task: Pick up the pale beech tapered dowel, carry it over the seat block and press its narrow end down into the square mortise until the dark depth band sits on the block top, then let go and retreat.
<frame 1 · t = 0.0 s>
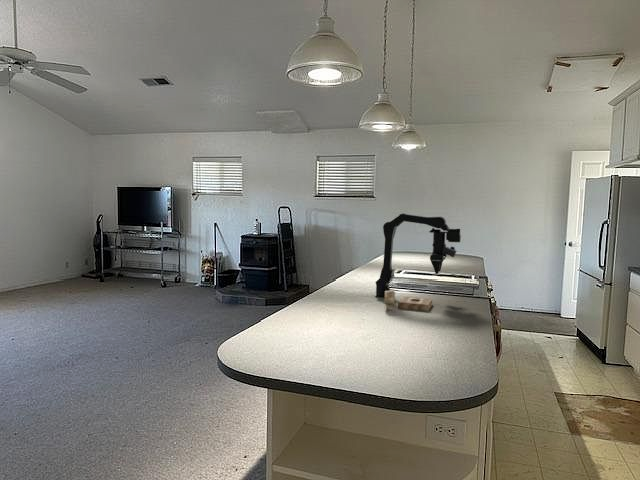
hand: (438, 272, 227), 14 cm above the counter, fingers open, 9 cm apart
peg: (389, 309, 209), on the counter
seat block: (415, 306, 216), on the counter
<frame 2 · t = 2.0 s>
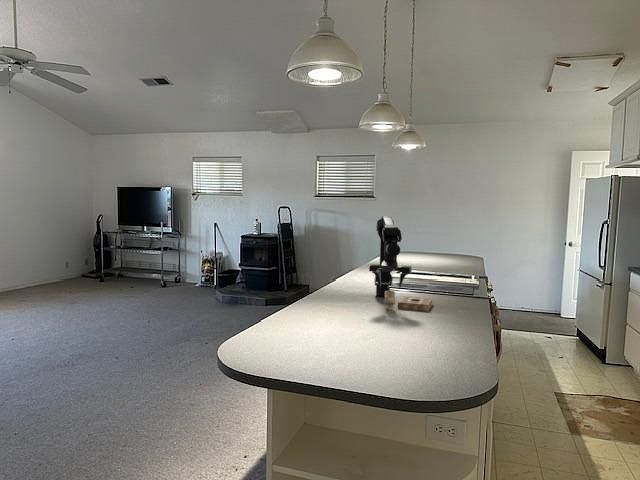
hand: (389, 287, 208), 11 cm above the counter, fingers open, 9 cm apart
nothing on the counter moved.
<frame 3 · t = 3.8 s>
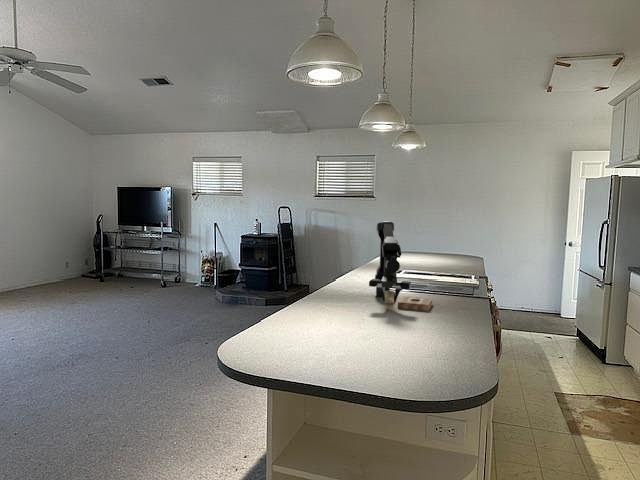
hand: (389, 302, 209), 4 cm above the counter, fingers closed on peg, 5 cm apart
peg: (389, 309, 209), on the counter, touching gripper
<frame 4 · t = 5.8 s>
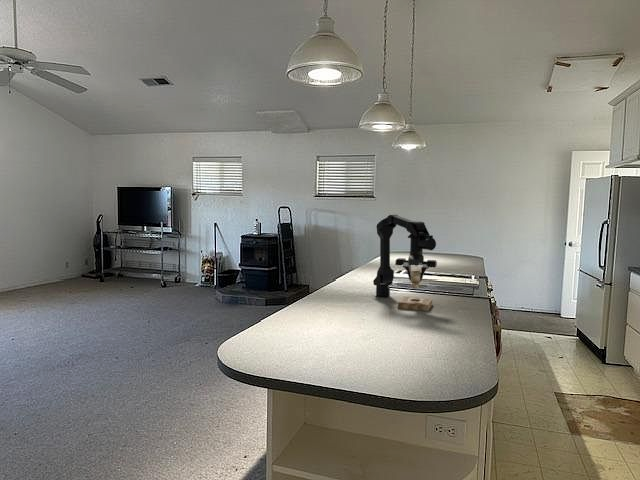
hand: (415, 280, 215), 13 cm above the counter, fingers closed on peg, 5 cm apart
peg: (415, 288, 215), point 9 cm above the counter, touching gripper
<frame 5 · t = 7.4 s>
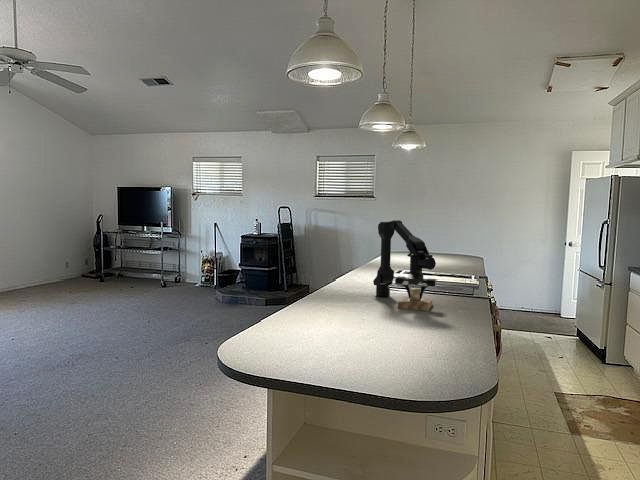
hand: (415, 299, 216), 4 cm above the counter, fingers closed on peg, 5 cm apart
peg: (415, 306, 216), resting in seat block, touching gripper
when the fingers open (4 cm above the counter, at t = 8.2 s): peg stays where it is, resting on seat block.
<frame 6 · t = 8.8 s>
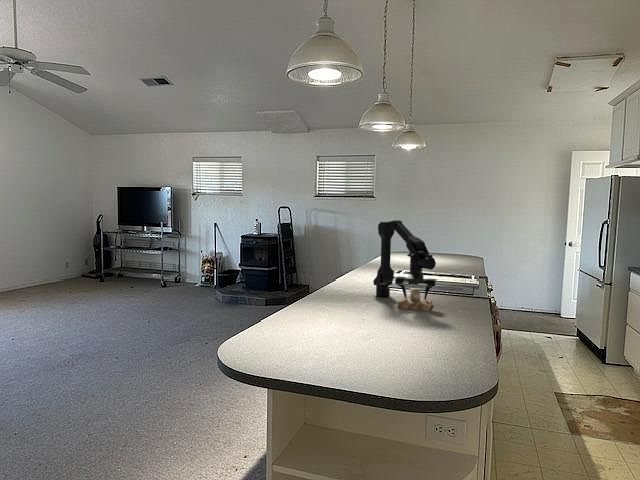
hand: (415, 299, 216), 4 cm above the counter, fingers open, 9 cm apart
peg: (415, 306, 216), resting on seat block
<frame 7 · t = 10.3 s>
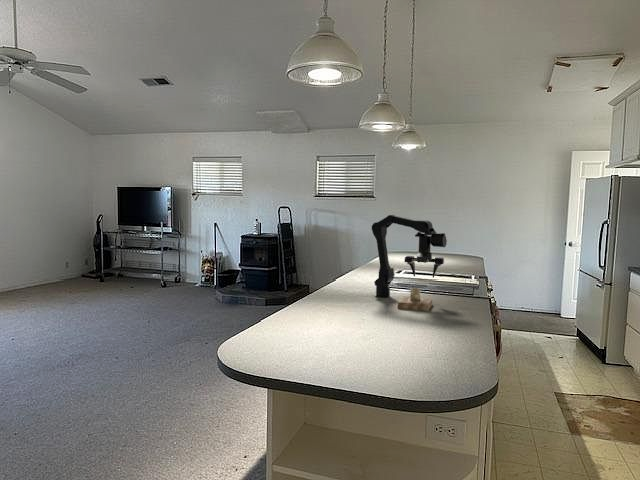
hand: (423, 277, 225), 12 cm above the counter, fingers open, 9 cm apart
nothing on the counter moved.
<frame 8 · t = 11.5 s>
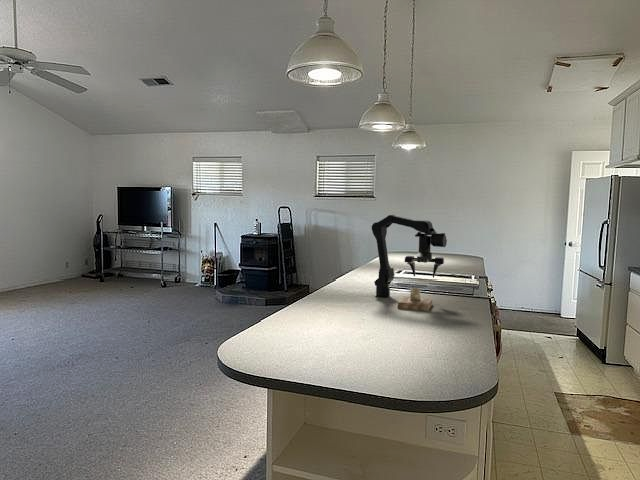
hand: (423, 277, 225), 13 cm above the counter, fingers open, 9 cm apart
nothing on the counter moved.
at the end: peg 0.0 cm off-centre on the seat block, point 0.0 cm above the seat block's base; peg tilted 0°; the gripper is holding nothing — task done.
